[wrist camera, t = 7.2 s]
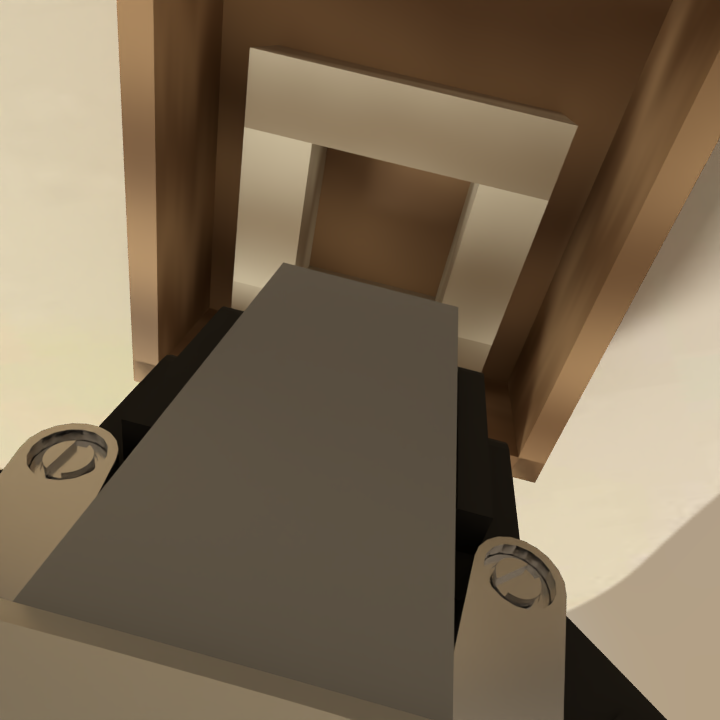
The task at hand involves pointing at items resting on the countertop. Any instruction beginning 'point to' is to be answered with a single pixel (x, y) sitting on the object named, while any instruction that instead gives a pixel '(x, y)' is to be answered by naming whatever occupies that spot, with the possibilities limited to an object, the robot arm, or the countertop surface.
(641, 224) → the crate
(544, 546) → the countertop surface
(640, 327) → the countertop surface
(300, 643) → the plug
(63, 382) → the countertop surface
